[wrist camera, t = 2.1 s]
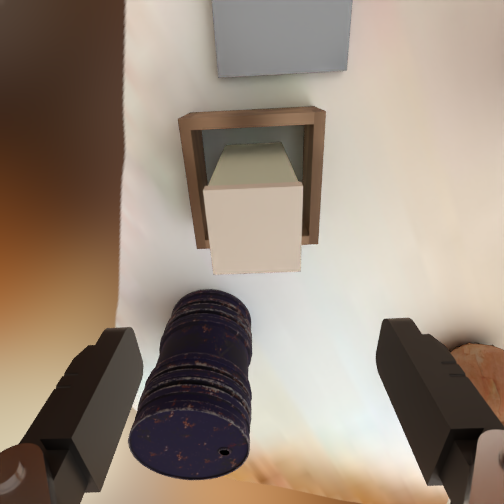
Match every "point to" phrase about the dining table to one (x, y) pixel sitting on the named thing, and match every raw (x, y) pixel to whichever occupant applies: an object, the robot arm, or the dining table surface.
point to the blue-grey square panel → (281, 36)
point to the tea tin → (254, 211)
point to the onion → (484, 372)
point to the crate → (305, 116)
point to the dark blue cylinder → (198, 391)
